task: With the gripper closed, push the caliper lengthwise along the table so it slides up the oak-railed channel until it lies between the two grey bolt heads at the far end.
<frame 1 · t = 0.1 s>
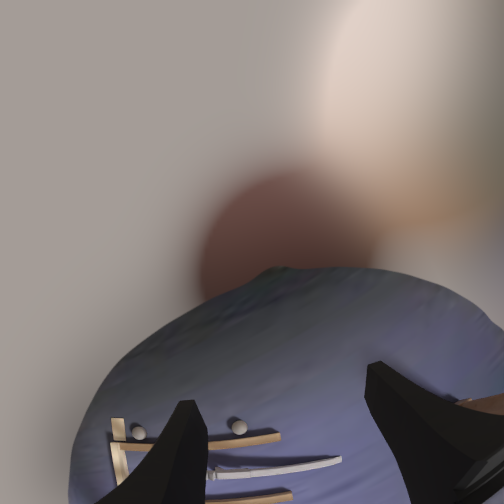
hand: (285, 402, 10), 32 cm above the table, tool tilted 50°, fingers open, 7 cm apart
brown wooden frame: (455, 430, 31), on the table
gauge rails: (202, 475, 32), on the table
caliper: (272, 467, 33), on the table
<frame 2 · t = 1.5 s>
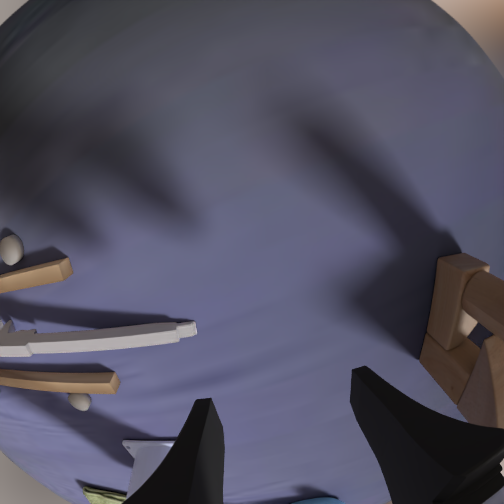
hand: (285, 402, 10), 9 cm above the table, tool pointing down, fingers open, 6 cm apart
brown wooden frame: (441, 309, 21), on the table
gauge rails: (2, 333, 19), on the table
caliper: (77, 325, 20), on the table
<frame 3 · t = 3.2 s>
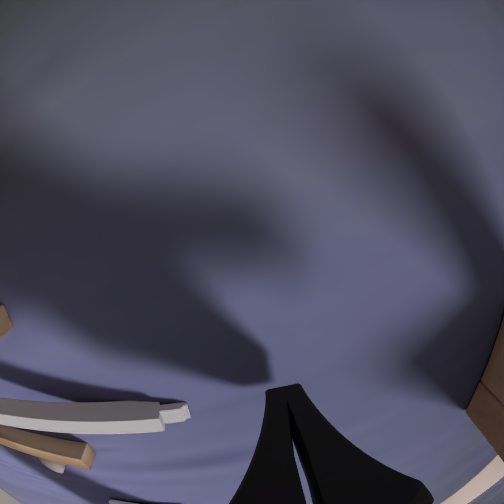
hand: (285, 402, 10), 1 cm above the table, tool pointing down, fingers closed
brown wooden frame: (498, 352, 14), on the table
caliper: (33, 387, 12), on the table
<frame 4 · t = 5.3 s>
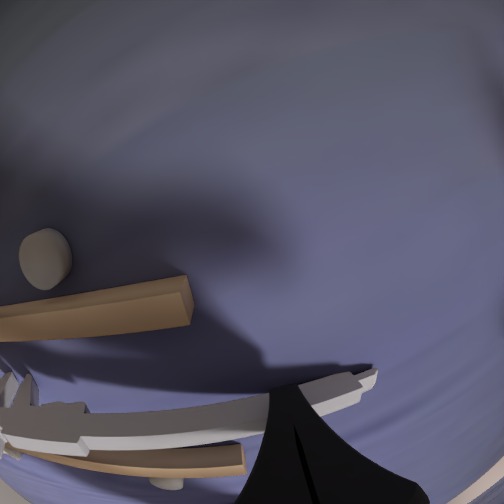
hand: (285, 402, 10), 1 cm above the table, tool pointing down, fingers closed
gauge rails: (26, 392, 11), on the table
caliper: (163, 391, 12), on the table, touching gripper
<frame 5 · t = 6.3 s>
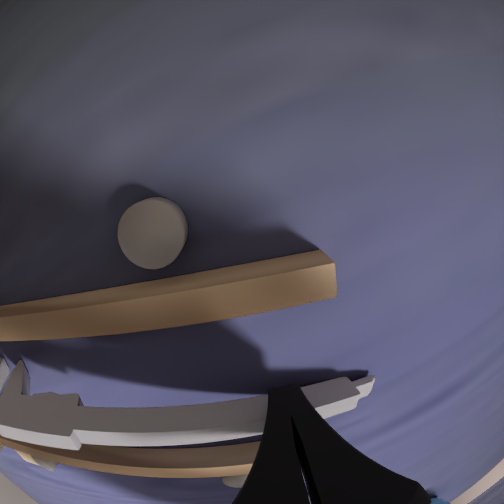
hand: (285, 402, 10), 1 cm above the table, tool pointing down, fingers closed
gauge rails: (81, 396, 11), on the table
caliper: (158, 387, 12), on the table, touching gripper
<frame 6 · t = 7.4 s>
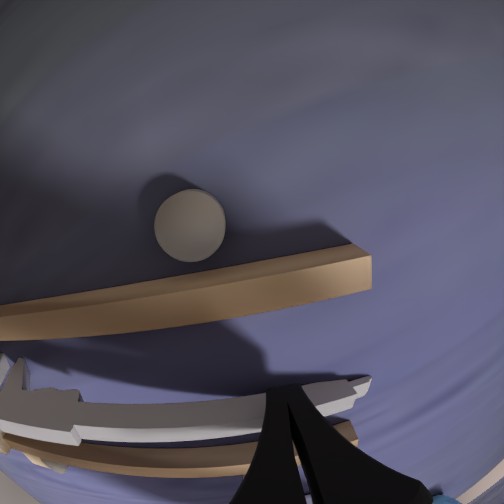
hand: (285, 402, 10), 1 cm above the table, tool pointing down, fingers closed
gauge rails: (100, 397, 12), on the table
caliper: (158, 384, 12), on the table, touching gripper
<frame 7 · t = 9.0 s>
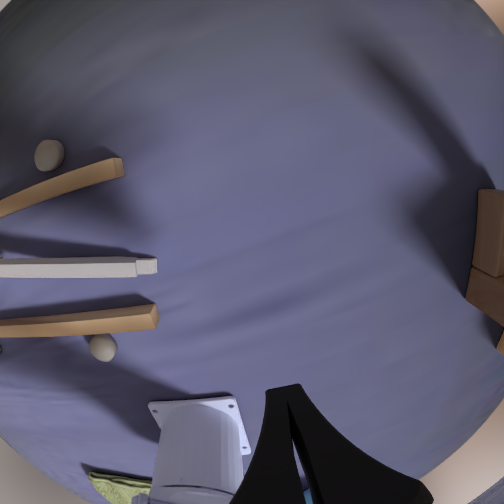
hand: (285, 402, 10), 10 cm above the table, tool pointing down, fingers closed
brown wooden frame: (482, 244, 21), on the table
washcloth: (144, 494, 29), on the table
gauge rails: (15, 268, 18), on the table
caliper: (42, 257, 18), on the table
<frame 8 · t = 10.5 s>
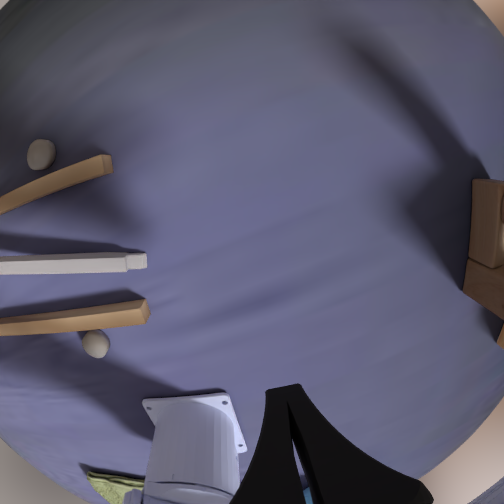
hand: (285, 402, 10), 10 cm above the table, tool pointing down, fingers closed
brown wooden frame: (478, 235, 20), on the table
washcloth: (143, 494, 29), on the table
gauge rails: (10, 267, 18), on the table
caliper: (36, 254, 18), on the table
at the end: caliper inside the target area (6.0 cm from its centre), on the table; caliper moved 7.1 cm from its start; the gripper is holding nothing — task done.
